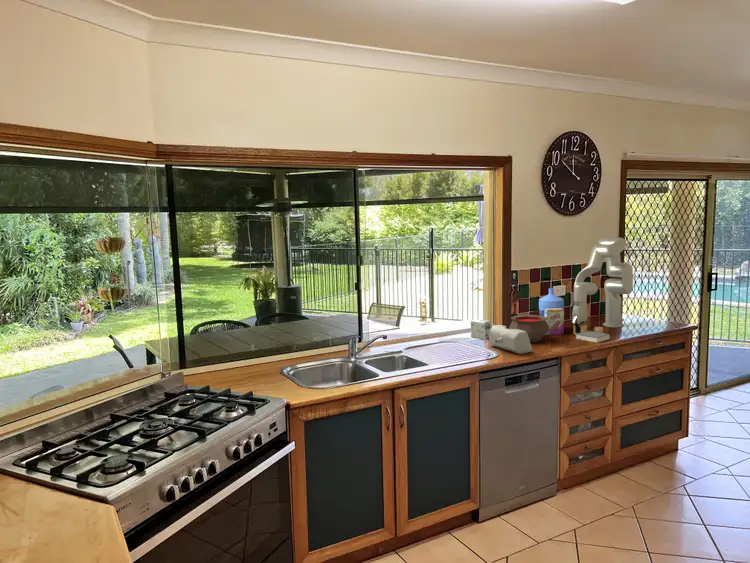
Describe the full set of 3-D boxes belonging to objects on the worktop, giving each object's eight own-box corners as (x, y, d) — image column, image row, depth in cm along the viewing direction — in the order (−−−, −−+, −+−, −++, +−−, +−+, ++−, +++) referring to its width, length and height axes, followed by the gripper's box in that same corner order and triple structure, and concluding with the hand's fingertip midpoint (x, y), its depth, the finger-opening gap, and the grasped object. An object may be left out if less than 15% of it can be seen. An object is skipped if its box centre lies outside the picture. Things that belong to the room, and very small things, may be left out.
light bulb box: (490, 337, 336) (490, 320, 334) (485, 339, 331) (484, 322, 330) (476, 335, 343) (476, 319, 342) (470, 337, 338) (470, 320, 337)
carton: (577, 332, 338) (577, 321, 337) (587, 334, 332) (587, 323, 331) (573, 334, 335) (573, 323, 334) (582, 335, 330) (582, 324, 329)
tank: (482, 347, 312) (482, 326, 311) (504, 343, 319) (503, 323, 317) (510, 356, 290) (510, 334, 288) (533, 352, 296) (533, 330, 295)
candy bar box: (546, 335, 335) (546, 309, 333) (544, 333, 340) (544, 308, 338) (564, 334, 335) (564, 309, 333) (562, 333, 340) (562, 307, 338)
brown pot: (531, 346, 309) (531, 319, 307) (500, 339, 329) (500, 313, 327) (557, 339, 322) (557, 313, 320) (526, 333, 342) (526, 308, 340)
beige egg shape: (597, 334, 333) (597, 326, 332) (604, 335, 329) (604, 327, 328) (592, 335, 330) (592, 327, 330) (599, 336, 326) (600, 328, 326)
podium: (588, 335, 330) (588, 330, 330) (609, 339, 319) (609, 334, 319) (575, 338, 323) (575, 333, 323) (596, 342, 312) (597, 337, 311)
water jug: (558, 327, 356) (558, 286, 353) (567, 332, 340) (567, 289, 337) (535, 328, 355) (535, 287, 352) (543, 333, 340) (543, 290, 336)
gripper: (582, 301, 339) (582, 329, 341) (566, 304, 330) (566, 333, 332) (593, 302, 333) (593, 331, 335) (577, 306, 323) (577, 335, 326)
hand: (580, 332), depth 334 cm, fingers closed on carton, 4 cm apart
